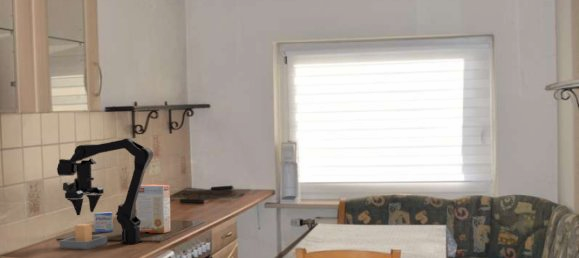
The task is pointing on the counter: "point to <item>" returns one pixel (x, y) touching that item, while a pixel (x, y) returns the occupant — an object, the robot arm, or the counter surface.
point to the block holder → (83, 243)
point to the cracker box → (154, 208)
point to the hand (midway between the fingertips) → (85, 213)
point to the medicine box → (103, 222)
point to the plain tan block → (83, 232)
